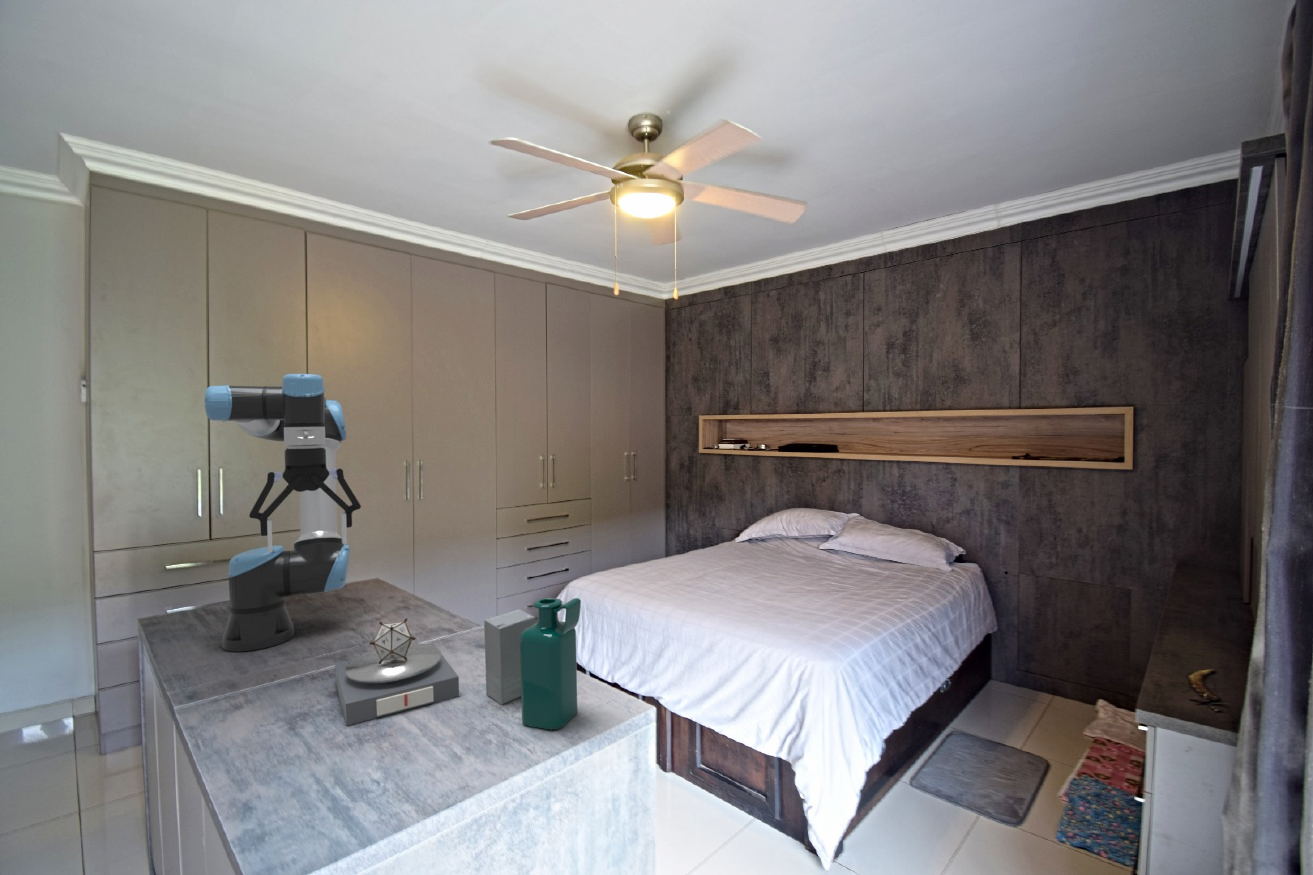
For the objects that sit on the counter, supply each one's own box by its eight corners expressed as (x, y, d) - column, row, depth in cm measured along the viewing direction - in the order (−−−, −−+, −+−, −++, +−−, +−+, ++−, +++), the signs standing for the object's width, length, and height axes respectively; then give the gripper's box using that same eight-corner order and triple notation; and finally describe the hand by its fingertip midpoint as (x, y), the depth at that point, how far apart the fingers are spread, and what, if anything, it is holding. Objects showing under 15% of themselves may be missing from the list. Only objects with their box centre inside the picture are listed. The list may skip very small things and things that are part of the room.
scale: (335, 681, 125) (334, 663, 125) (433, 659, 136) (433, 642, 136) (347, 727, 106) (346, 706, 106) (460, 697, 117) (459, 678, 117)
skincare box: (520, 681, 124) (518, 607, 123) (539, 692, 119) (537, 614, 118) (483, 695, 118) (481, 616, 117) (501, 707, 113) (499, 625, 112)
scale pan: (341, 664, 124) (340, 655, 124) (430, 645, 134) (430, 637, 134) (350, 697, 109) (350, 687, 109) (450, 673, 119) (450, 664, 119)
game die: (397, 680, 120) (394, 653, 114) (362, 663, 121) (357, 635, 115) (426, 645, 127) (424, 617, 121) (392, 629, 128) (388, 601, 122)
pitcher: (517, 725, 106) (514, 603, 105) (542, 703, 114) (540, 591, 113) (565, 734, 103) (562, 609, 102) (587, 711, 110) (585, 595, 110)
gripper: (231, 450, 115) (235, 558, 116) (372, 445, 129) (375, 542, 129) (234, 448, 121) (237, 551, 122) (367, 444, 135) (370, 536, 135)
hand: (308, 546), depth 125 cm, fingers open, 13 cm apart
